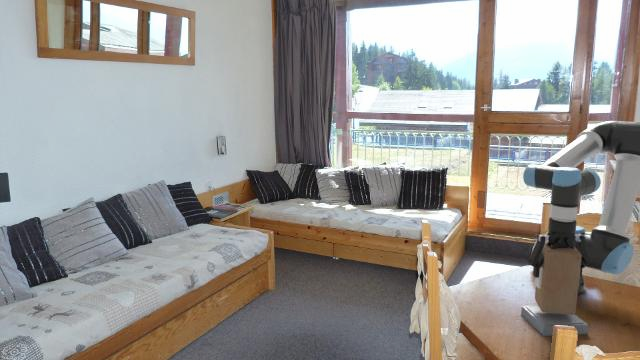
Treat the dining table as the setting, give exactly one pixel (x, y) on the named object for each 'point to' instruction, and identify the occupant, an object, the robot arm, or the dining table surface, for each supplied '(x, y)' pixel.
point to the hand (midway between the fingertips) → (556, 286)
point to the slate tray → (551, 320)
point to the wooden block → (559, 280)
